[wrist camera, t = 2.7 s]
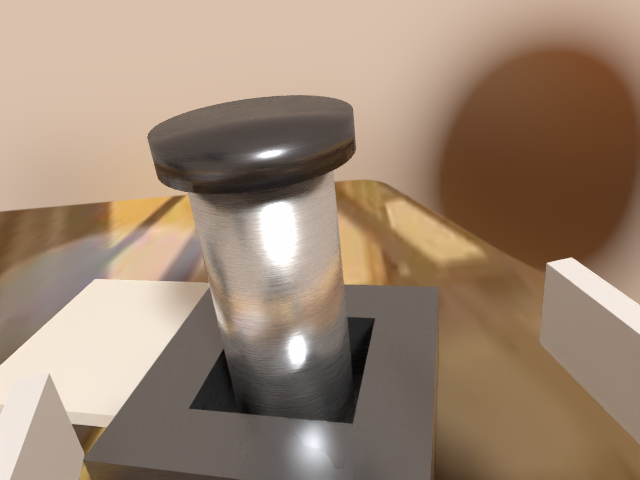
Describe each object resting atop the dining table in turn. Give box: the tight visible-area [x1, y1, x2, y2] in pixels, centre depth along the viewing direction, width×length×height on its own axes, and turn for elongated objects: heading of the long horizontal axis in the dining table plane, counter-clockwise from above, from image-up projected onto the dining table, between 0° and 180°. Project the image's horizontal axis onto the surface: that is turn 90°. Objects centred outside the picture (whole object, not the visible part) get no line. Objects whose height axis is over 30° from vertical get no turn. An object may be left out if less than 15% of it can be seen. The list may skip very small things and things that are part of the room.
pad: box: [0, 279, 210, 427], centre depth 37 cm, size 14×14×1 cm
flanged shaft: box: [148, 95, 356, 424], centre depth 25 cm, size 8×8×16 cm
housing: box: [83, 285, 439, 480], centre depth 27 cm, size 14×14×5 cm
